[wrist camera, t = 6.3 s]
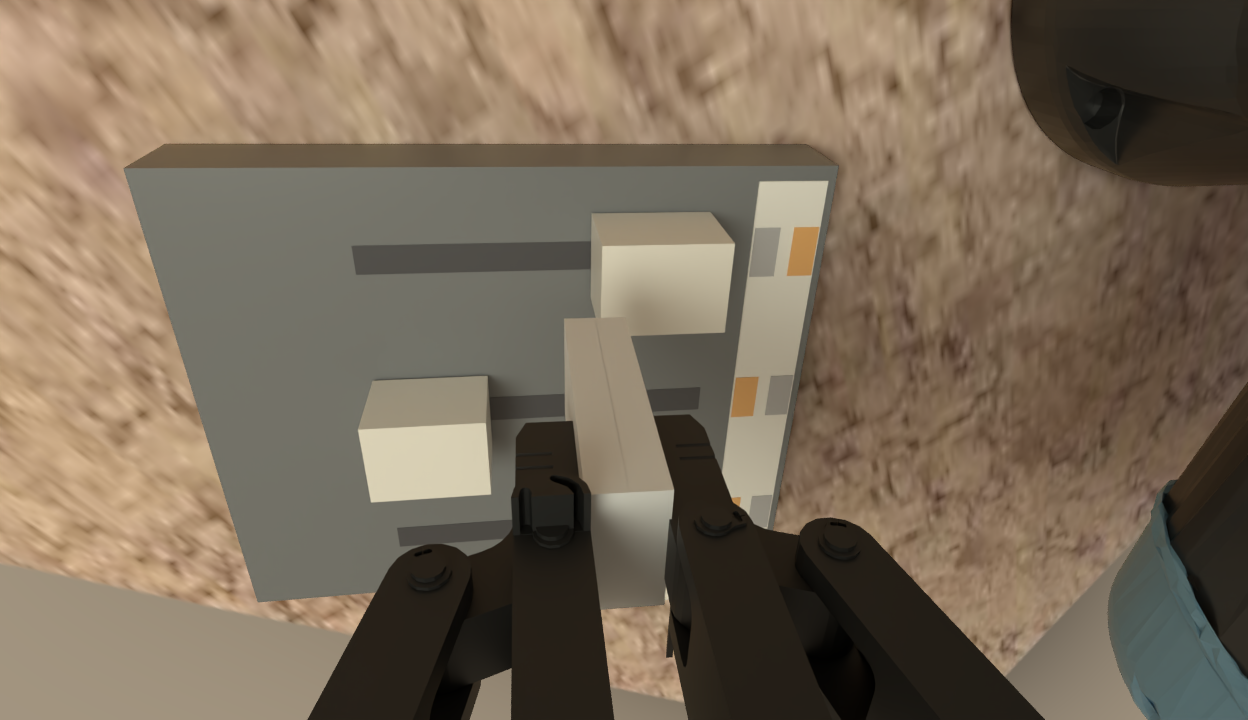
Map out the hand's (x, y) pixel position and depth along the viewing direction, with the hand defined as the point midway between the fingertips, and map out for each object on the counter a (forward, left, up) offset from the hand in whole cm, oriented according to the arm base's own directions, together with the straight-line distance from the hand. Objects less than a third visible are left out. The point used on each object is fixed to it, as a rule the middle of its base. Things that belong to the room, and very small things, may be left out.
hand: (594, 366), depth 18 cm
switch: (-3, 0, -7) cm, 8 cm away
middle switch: (+5, +6, -7) cm, 11 cm away
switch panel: (+2, +6, -10) cm, 12 cm away
